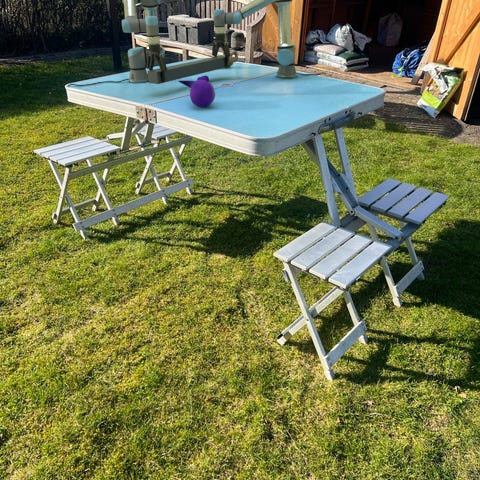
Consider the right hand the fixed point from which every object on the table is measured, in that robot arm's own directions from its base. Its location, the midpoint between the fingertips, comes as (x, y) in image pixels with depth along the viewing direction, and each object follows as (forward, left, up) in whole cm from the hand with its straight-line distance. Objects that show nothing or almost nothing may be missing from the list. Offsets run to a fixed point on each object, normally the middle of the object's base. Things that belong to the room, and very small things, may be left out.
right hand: (221, 66), depth 337 cm
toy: (+19, +79, -9) cm, 82 cm away
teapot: (-7, -47, -9) cm, 48 cm away
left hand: (+44, +49, 0) cm, 66 cm away
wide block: (+22, +24, -1) cm, 33 cm away
